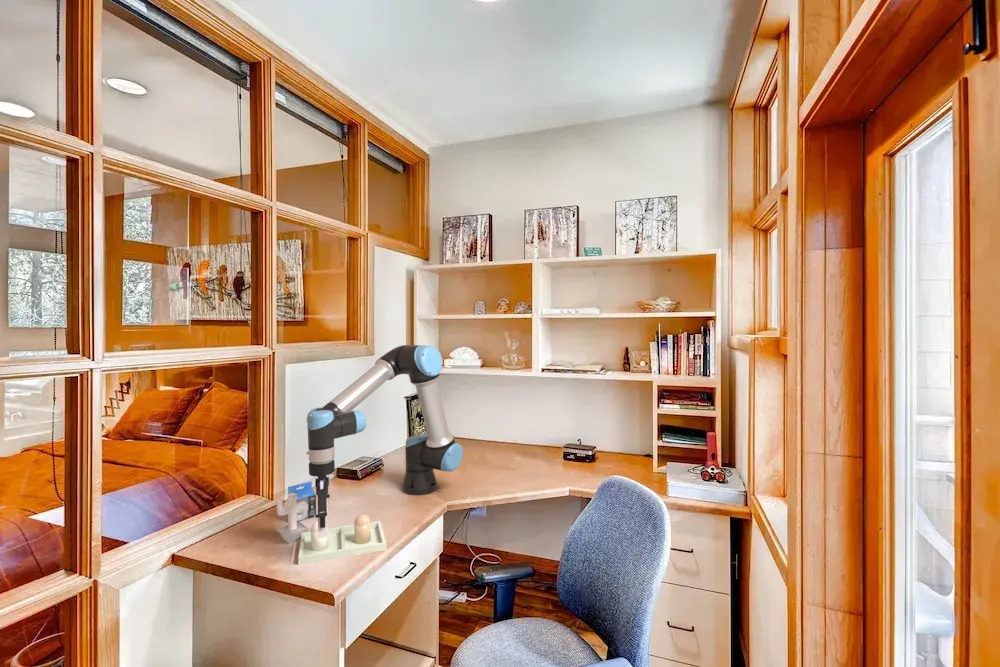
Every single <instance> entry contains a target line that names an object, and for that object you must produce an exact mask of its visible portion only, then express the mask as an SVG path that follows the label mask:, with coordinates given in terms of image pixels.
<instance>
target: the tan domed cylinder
mask: <svg viewBox="0 0 1000 667" xmlns="http://www.w3.org/2000/svg"><path fill="white" fill-rule="evenodd" d="M370 522H371V518H370V516H369V515H368V514H366V513H360V514H359V515H357V516H356V517H355V519H354V523H353V525H354V538H355V543H356V544H366V543H368V542H370V540H371V525H370Z"/></svg>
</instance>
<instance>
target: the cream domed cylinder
mask: <svg viewBox="0 0 1000 667" xmlns="http://www.w3.org/2000/svg"><path fill="white" fill-rule="evenodd" d="M310 531H311V550H312V551H315V552H319V551H323V550H325V549H327V548H328V537H324V538H318V520H316V521H315V522H313V524H312V525H311V527H310Z"/></svg>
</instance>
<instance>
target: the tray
mask: <svg viewBox="0 0 1000 667" xmlns="http://www.w3.org/2000/svg"><path fill="white" fill-rule="evenodd" d="M381 521H382V520H376V521H370V525H371V540H370V542H368V543H366V544H356V543H355V538H354V524H350V525H349V524H348V525H343V526H337V527H330V528H329V527H328V548H327V549H325V550H323V551H319V552H315V551H312V550H311V530H309V531H308V530H307V531H306V532H302V535H301V537H300V543H299V551H298V558H297V559H298V560H297V562H298V563H297V564H298V566H301V565H306V564H312V563H317V562H323V561H324V562H325V561H330V560H336V559H341V558H346V557H352V556H357V555H358V556H359V555H364V554H365V555H366V554H369V553H375V552H381V551H387V539H386V536H385V532H384V530H383V529H384V528H383V525H382V522H381Z"/></svg>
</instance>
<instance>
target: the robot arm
mask: <svg viewBox="0 0 1000 667" xmlns="http://www.w3.org/2000/svg"><path fill="white" fill-rule="evenodd" d="M443 364H444V362H443V357H442V354H441V352H440V351H439V350H438V348H436V347H435V346H431V345H427V344H422V345H418V344H417V345H416V344H411V345H409V344H402V345H399V346H396V347H394V348H393V349H391V350H390V351H387V352H386V353H384V355H382V356H381V357H379V358H378V359H376V361H375V363H374V366H372V367H371V368H370V369H368V370H367V371H366V372H364V373H363V374H361V376H359V377H358V378H357V379H356V380H354V381H353V382H352V383H351V384H350V385H349V386H346V388H345V389H343V391H341V392H340V393H338V394H337V395H336V396H335V397H333V399H331V400H330V401H328V402H327V403H326V404H325V405H324V406H322V407H314V408H313V409H311V410H310V411H309V412H308V413H307V416H306V424H307V426H306V428H307V441H308V442H307V444H308V451H306V455H308V474H309V476H311V477H317V478H315V481H314V482H315V484H314V485H315V490H316V492H315V494H316V497H317V514H316V515H315V517H314V518H317V521H318V538H324V537H328V528H329V524H328V519H329V504H328V503H329V502H328V501H329V499H330V497H331V496H330V494H329V486H330V478H329V476H328V475H331V474H333V473H335V471H336V470H335V468H336V466H335V439H339V438H344V437H348V436H352V435H356V434H359V433H362V432H363V431H364V430H366V427H367V418H366V415H365V414H364V412H363V411H362V410H354V409H355V408H357V406H359V405H360V404H361V403H362V402H364V401H365V399H367V398H368V397H370V396H371V395H372V394H373V393H375V391H376V390H378V388H380V387H381V386H383V384H385V383H386V382H387V381H391V380H393V379H394V378H396V377H397V376H400V375H408V376H409V380H410V383H411V384H412V385H414V386H415V388H416V393H417V397H418V402H419V406H420V409H421V413H422V417H423V421H424V425H425V429H426V433H425V434H424V433H423V434H416V435H412V436H409V437H407V438H406V441H405V446H404V447H405V474H404V477H403V481H402V485H401V491H402V492H403V493H404V494H406V495H409V496H411V495H412V496H422V495H427V494H431V493H434V492H435V491H437V490H438V480H437V477H436V474H435V471H434V470H438V471H441V472H449V473H452V472H454V471H455V470H457V469H458V467H459V466H460V464H461V462H462V460H463V455H464V450H463V446H462V445H461V444H459V443H458V442H456V441H455V438H454V435H453V433H451V432H450V431H449V426H448V422H447V418H446V414H445V410H444V409H445V408H444V405H443V401H442V397H441V393H440V388H439V383H438V379H439V377H440V373H441V371H442V369H443Z"/></svg>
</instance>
